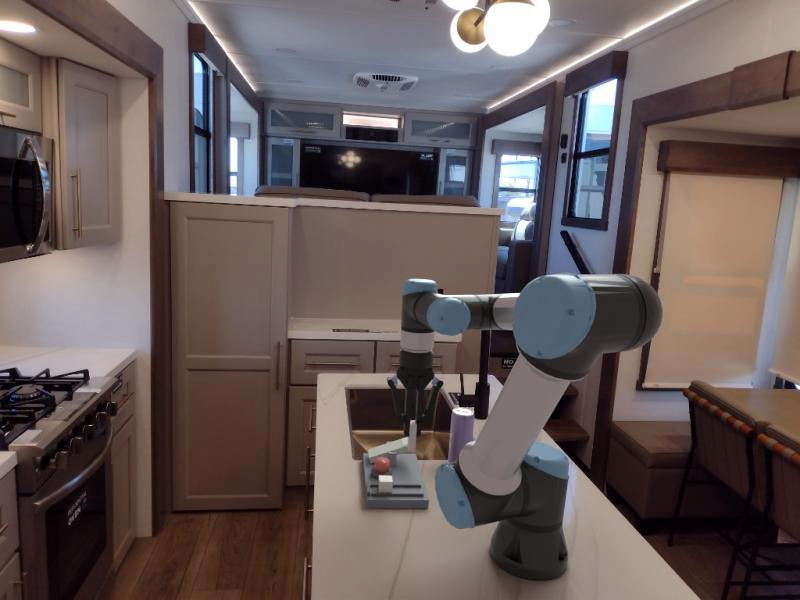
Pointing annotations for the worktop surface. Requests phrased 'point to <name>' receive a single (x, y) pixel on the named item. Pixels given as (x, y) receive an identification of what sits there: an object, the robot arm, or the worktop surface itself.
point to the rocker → (388, 449)
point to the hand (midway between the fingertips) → (411, 449)
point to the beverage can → (460, 431)
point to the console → (396, 483)
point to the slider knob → (385, 484)
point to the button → (381, 465)
